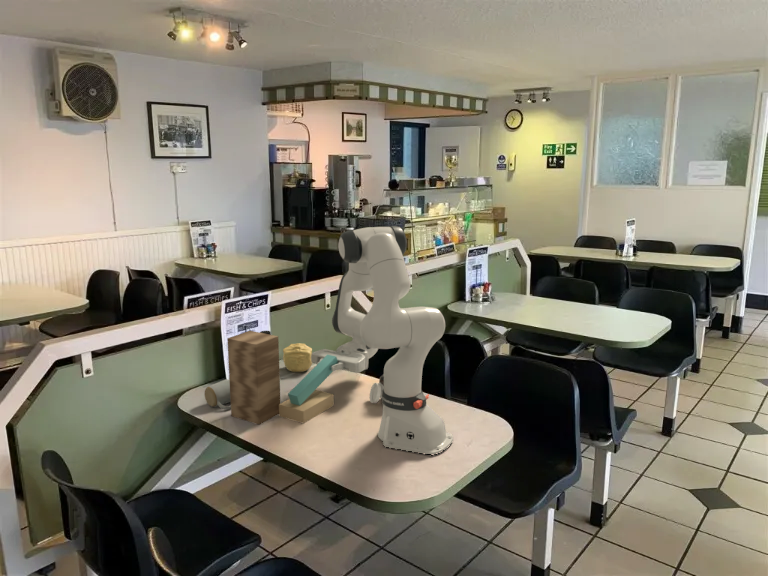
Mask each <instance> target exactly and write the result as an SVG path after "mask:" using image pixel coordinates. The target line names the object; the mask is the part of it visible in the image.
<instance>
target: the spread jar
mask: <svg viewBox="0 0 768 576" xmlns="http://www.w3.org/2000/svg"><path fill="white" fill-rule="evenodd" d="M383 389H384V373H383V374H382V375H381V376H380V377H379V379H378V382H374V383H372V386H371V388H370V391H369V402H370V403H371V404H378V402H379V401H380V400H381V401H382V390H383Z"/></svg>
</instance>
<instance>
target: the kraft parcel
mask: <svg viewBox="0 0 768 576" xmlns="http://www.w3.org/2000/svg"><path fill="white" fill-rule="evenodd" d="M334 398H335V397H334V393H329V392H325V391H323V390H318V389H316V390H315V391H314V392H313V393H312V394H311V395H310V396H309V397H308V398H307V399H306V400H305V401H304V402H303V403H302V404H301V405H300V406H299V405H296V404H292V403H291V402H290V399H289V398H288V399H286V400H284V401H283V402H281V404H279V414H278V416H279V417H280V418H284V419H287V420H288V419H289V420H291V421H295V422H298V423H302V424H305V423H307V422H309V421H310V420H312V419H313V418H315V417H317V416H318V415H321V414H322V413H323V412H325V411H327V410H328V409H330V408H332V407H333V406H334V404H335V403H334V402H335V401H334Z"/></svg>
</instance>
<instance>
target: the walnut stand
mask: <svg viewBox="0 0 768 576" xmlns="http://www.w3.org/2000/svg"><path fill="white" fill-rule="evenodd" d="M279 342H280V341H279V335H274V334H271V335H269V334H264V333H260V332H259V331H254V330H247V331H245V332H241V333H238V334H237V335H233V336H231V337H227V357H228V359H227V360H228V376H229V378H228V380H230V399H231V402H230V406H231V409H230V412H231V413H230V416H231V417H234V418H237V419H239V420H243V421H247V422H248V423H249V422H250V423H252V424H256V425H259V426H260V425H263V424H264V423H265V422H267V421H269V420H271V419H273V418H275V417H276V416H279V404H281V403H282V402H281V380H280V379H281V377H280V372H281V371H280V352H279V351H280V348H279V347H280V345H279V344H280V343H279Z"/></svg>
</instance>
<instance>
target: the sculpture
mask: <svg viewBox="0 0 768 576" xmlns="http://www.w3.org/2000/svg"><path fill="white" fill-rule="evenodd" d="M282 352H283V356H282V360H283V364H284V367H285V368H286V369H287V370H288V371H290V372H292V373H302V372H306V371H308V370H309V369H310V368H311V367H312V364H313V363H312V362H311V354H312V353H313V348H312V347H311V346H308V345H306V343H300V342H299V343H298V342H297V343H290V345H288V346H286V347H285V348H283V349H282Z"/></svg>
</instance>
